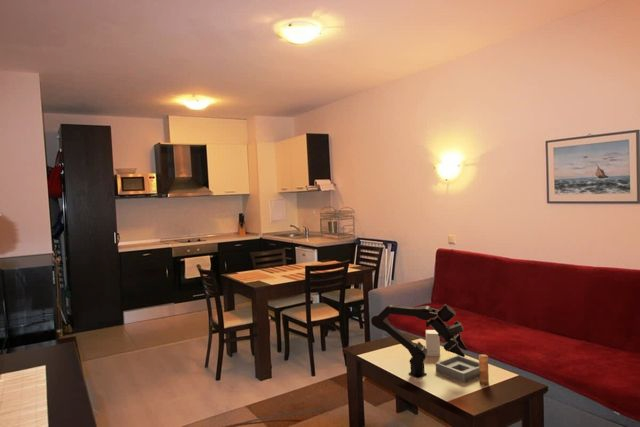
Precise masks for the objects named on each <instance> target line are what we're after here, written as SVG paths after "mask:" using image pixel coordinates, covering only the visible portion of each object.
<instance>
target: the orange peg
mask: <svg viewBox="0 0 640 427" xmlns="http://www.w3.org/2000/svg"><path fill="white" fill-rule="evenodd" d="M478 362H479V377H478V379H479V384H480V385H481V386H488V385H489V384H490V381H489V355H487V354H479V355H478Z"/></svg>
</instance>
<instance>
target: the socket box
mask: <svg viewBox="0 0 640 427" xmlns="http://www.w3.org/2000/svg"><path fill="white" fill-rule="evenodd" d="M435 372H436V373H438V374H440V375H443V376H446V377H447V378H450V379H453V380H455V381H458V382H460V383H463V384H466V383H468V382H469V381H472V380H474V379H477V378H479V361H476V360H474V359H472V358H471V359H470V358H468V357H462V356H459V355H457V354H456V355H454V356H452V357H449V358H447V359H446V358H445V359H443V360H440V361H438V362H437V361H436V362H435Z"/></svg>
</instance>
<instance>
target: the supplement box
mask: <svg viewBox="0 0 640 427" xmlns="http://www.w3.org/2000/svg"><path fill="white" fill-rule="evenodd" d="M440 337H441V336H438V333H437V332H436V331H435V330H434V329H425V348H426V349H427V352H428V354H427V356H426V357H441V343H440V342H441V341H440V340H441V339H440Z"/></svg>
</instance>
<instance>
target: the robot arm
mask: <svg viewBox="0 0 640 427" xmlns="http://www.w3.org/2000/svg"><path fill="white" fill-rule="evenodd" d="M390 315H399V316H409V317H413V318H417V319H418V320H422V321H425V328H428V327H431V328H432V330H435V331H436V332H437V333H438V336H440V337H441V338H442V340H444V341H443V342H444V344H443V349H444V350H445V351H446V352H449V353H453V354H456V355H459V356H462V357H465V356H466V355H465V353H464V352H463V350H464V351H467V350H468V348H467V346H466V345H465V343H464V341H463V339H462V332H464V329H465V328H464V326H463V323H462V322H460V321H458V320H456V321H454V324H453V325H449V324H446V323H448V322H450V320H452V319H453V318H454V317H455V316H456V315H457V312H456V311H455V310H454V308H453V307H451V306H450V305H447V303H445V304H444V305H443V306H442V307H441V308H440V309H437V308H432V307H431V306H430V305H420V306H415V307H414V306H413V307H412V306H403V305H393V304H387V306H386V307H385V308H383V310H382V311H380V312H376V313H375V314H374V315H373V316H372V317H371V319H370V321H371V325H372V326H373V327H375V328H377V329H378V330H381V331H383V332H385V333H387V334H388V335H389V336H390V337H391V338H392V339H394V340H395V341H396V342H398V343H399V344H400V345H401V346H403V347H404V348H405V349H406V350H407V351H408V353H409V354H410V355H411V357H410V359H409V360H408V362H409V364H410V372H408V375H410V376H412V377H414V378H416V379H419V378H422V377H425V376H427V373H426V372H425V362H424V361H425V360H426V358H427V357H428V356H427V354H428V352H427V349H426V345H423V344H422V343H421V342H420V341H417V343H416V342H414V341H413V340H411V339H410V338H409V337H407V336H406V335H405V334H404V333H402V332H401V331H400V330H399V329H397V327H395V326H393V324H392V323H391V322H390V321H389V318H387V317H388V316H390ZM465 358H466V357H465Z"/></svg>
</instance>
